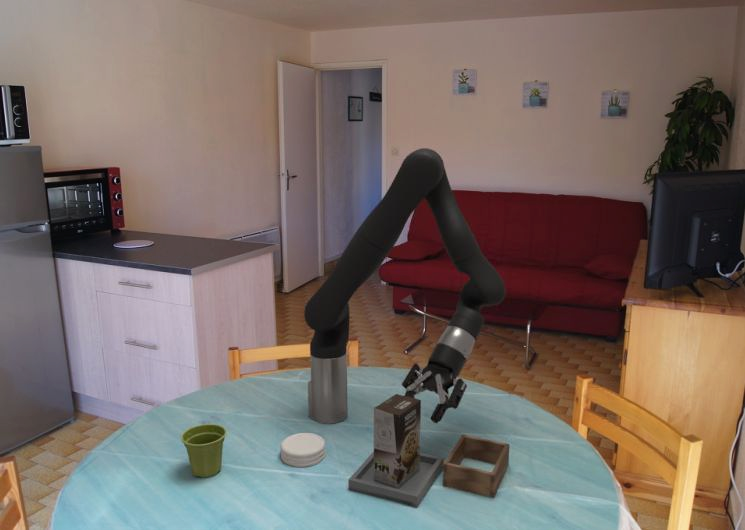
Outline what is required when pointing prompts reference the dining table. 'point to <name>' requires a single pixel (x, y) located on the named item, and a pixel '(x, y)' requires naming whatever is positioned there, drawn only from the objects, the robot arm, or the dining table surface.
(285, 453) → the coaster
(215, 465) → the plant pot
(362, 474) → the tray
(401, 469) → the coffee box
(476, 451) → the wooden frame
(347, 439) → the dining table surface
